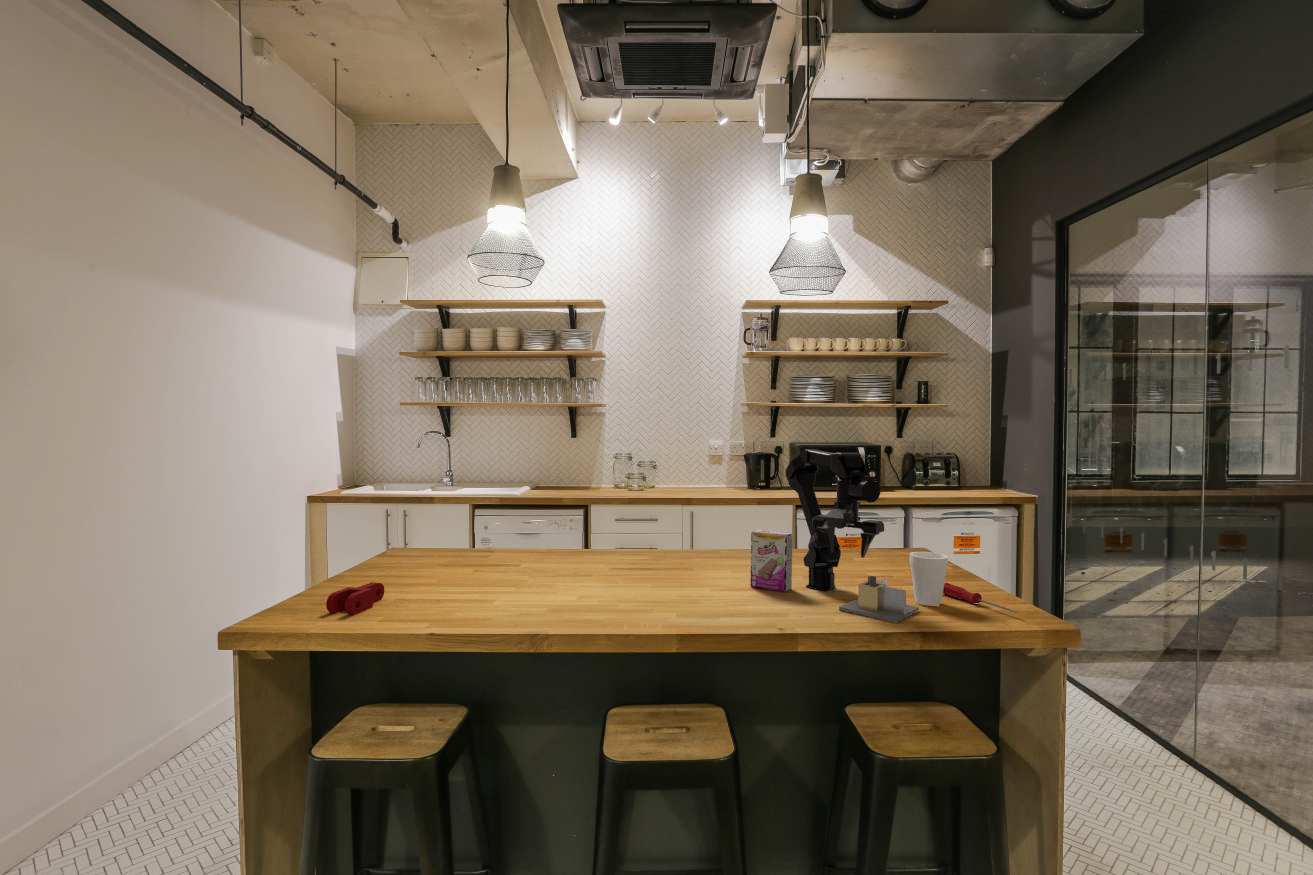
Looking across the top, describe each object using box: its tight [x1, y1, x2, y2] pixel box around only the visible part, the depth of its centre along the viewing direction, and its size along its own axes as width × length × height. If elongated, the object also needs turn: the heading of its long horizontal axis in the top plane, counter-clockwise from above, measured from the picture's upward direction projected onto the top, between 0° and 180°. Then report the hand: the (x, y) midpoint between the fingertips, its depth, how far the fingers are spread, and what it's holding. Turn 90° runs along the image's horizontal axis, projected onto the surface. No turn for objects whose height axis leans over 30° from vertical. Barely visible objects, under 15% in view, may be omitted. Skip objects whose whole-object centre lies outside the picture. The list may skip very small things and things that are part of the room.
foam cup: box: [909, 551, 949, 605], centre depth 172 cm, size 10×9×13 cm
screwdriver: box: [943, 582, 1020, 614], centre depth 171 cm, size 4×25×4 cm, turn 18°
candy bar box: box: [750, 529, 793, 593], centre depth 187 cm, size 11×5×16 cm, turn 58°
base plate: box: [838, 598, 920, 624], centre depth 165 cm, size 15×14×1 cm
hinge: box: [857, 578, 907, 615], centre depth 164 cm, size 11×11×6 cm
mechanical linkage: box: [325, 581, 385, 615], centre depth 166 cm, size 16×7×5 cm, turn 167°
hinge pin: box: [867, 575, 877, 587], centre depth 164 cm, size 2×2×8 cm
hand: (846, 555), depth 176 cm, fingers open, 9 cm apart
